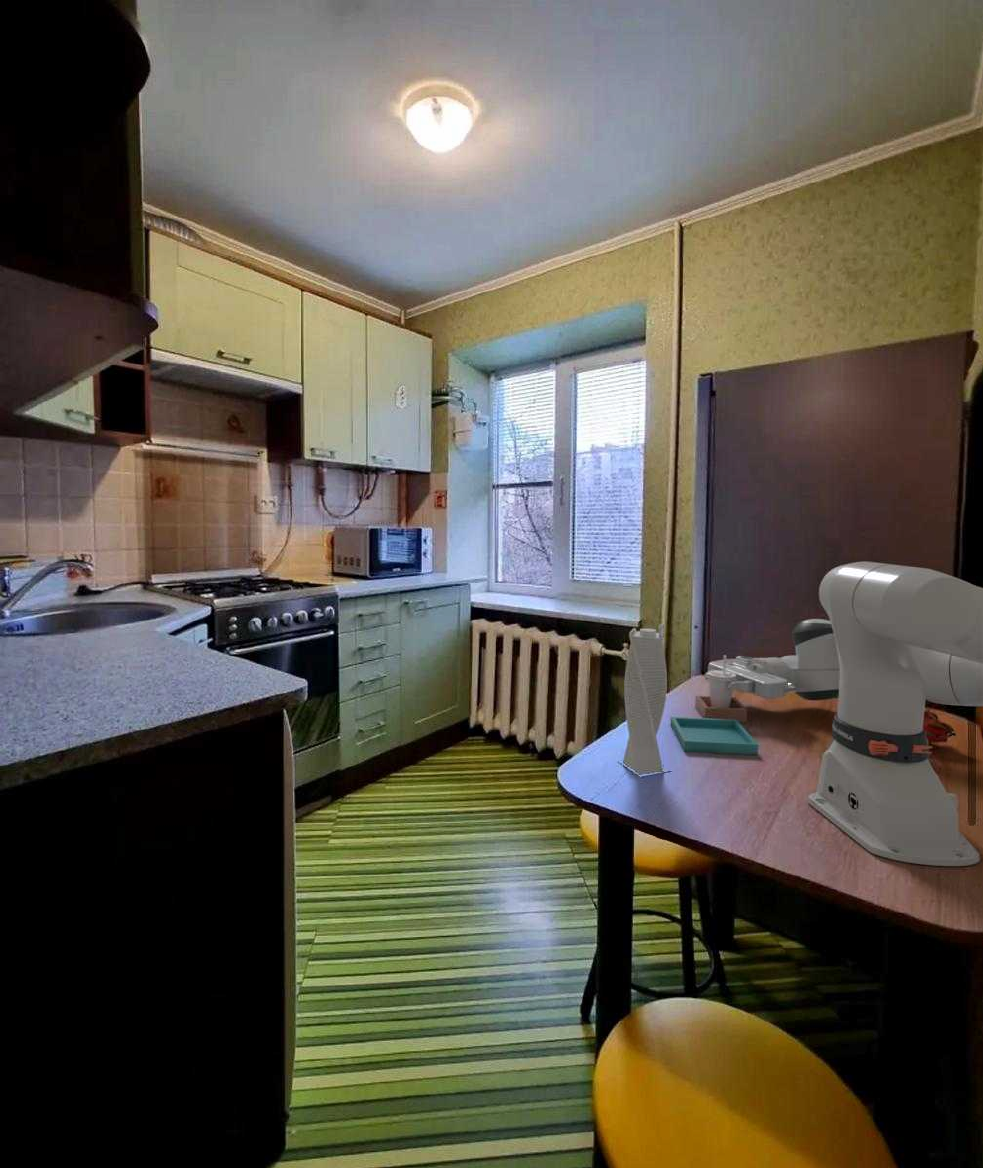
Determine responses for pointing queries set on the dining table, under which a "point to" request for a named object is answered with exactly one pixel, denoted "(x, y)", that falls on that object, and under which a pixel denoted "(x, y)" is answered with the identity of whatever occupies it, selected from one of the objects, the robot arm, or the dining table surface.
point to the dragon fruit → (936, 728)
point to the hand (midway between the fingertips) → (718, 681)
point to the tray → (713, 736)
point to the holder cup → (721, 709)
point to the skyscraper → (645, 699)
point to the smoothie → (720, 686)
